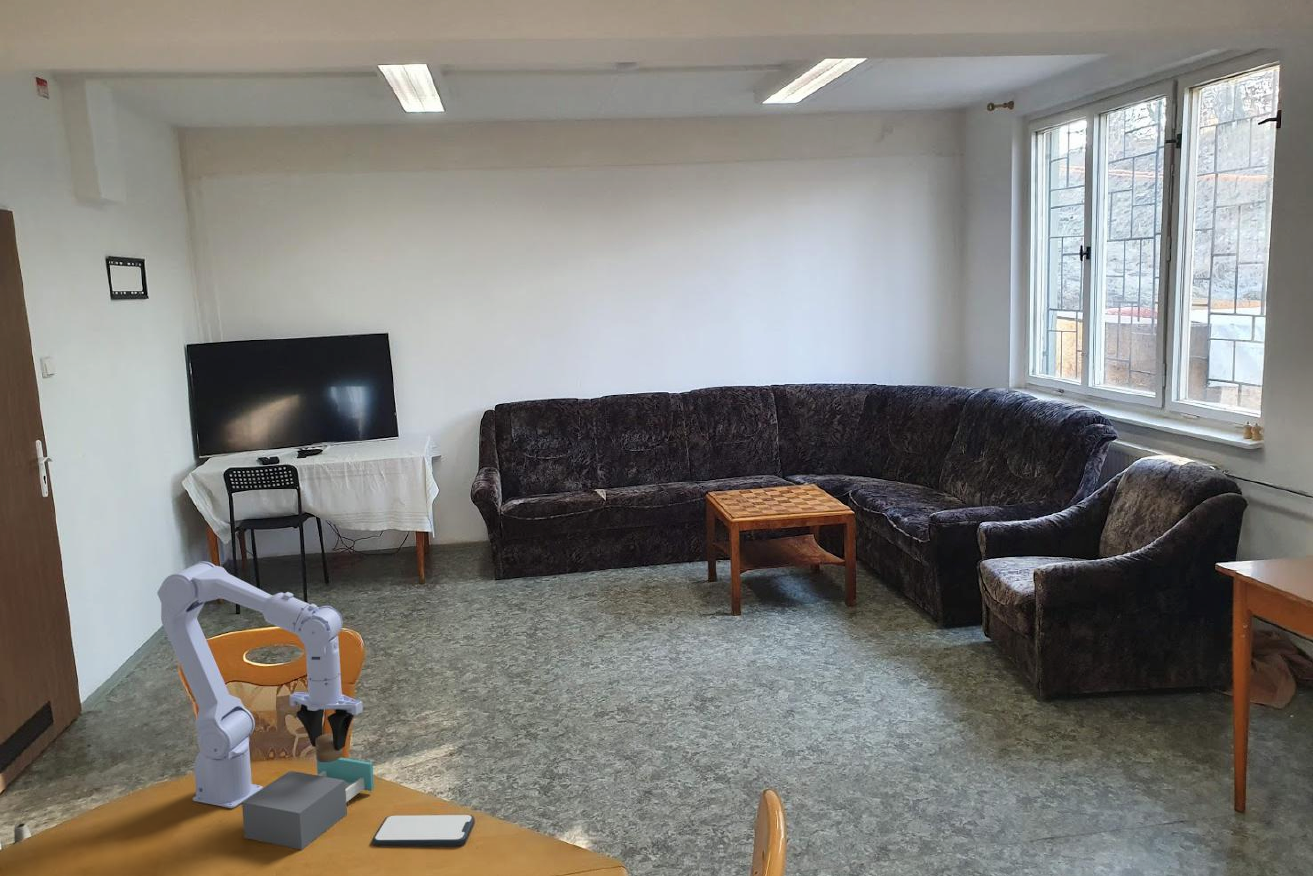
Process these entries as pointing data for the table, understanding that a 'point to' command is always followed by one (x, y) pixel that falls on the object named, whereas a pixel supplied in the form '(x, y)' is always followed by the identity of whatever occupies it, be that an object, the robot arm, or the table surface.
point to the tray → (349, 774)
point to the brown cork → (326, 749)
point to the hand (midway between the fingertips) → (328, 746)
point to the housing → (294, 809)
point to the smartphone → (424, 831)
